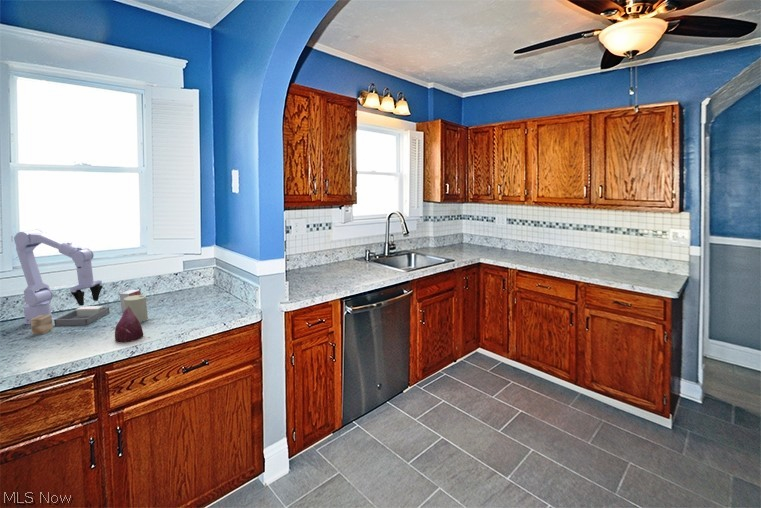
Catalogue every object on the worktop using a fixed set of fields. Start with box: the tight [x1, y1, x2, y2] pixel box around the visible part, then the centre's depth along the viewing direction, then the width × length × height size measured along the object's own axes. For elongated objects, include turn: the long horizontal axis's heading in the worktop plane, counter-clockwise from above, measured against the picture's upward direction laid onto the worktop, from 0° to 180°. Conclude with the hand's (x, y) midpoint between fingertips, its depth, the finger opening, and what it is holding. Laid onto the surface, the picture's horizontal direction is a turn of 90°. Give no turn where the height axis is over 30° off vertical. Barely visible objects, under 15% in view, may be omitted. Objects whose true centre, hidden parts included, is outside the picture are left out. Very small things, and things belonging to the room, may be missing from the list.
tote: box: [53, 306, 110, 327], centre depth 193 cm, size 14×18×4 cm
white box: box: [74, 305, 105, 317], centre depth 198 cm, size 10×5×4 cm, turn 95°
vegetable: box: [114, 306, 144, 344], centre depth 172 cm, size 10×10×15 cm
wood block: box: [30, 315, 54, 335], centre depth 178 cm, size 4×6×7 cm
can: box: [124, 294, 149, 323], centre depth 193 cm, size 9×9×12 cm
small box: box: [119, 289, 142, 313], centre depth 207 cm, size 8×6×10 cm
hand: (88, 303), depth 188 cm, fingers open, 7 cm apart
